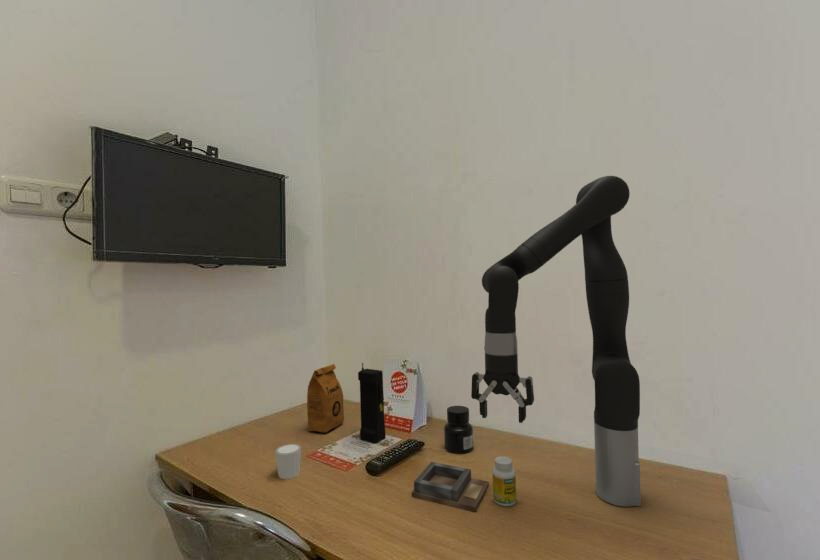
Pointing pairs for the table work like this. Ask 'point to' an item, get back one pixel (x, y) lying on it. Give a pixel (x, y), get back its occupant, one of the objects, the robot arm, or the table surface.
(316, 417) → the coffee package
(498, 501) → the supplement bottle
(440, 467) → the socket stand
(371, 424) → the portable radio
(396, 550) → the table surface
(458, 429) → the ink bottle
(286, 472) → the white tapered cylinder
